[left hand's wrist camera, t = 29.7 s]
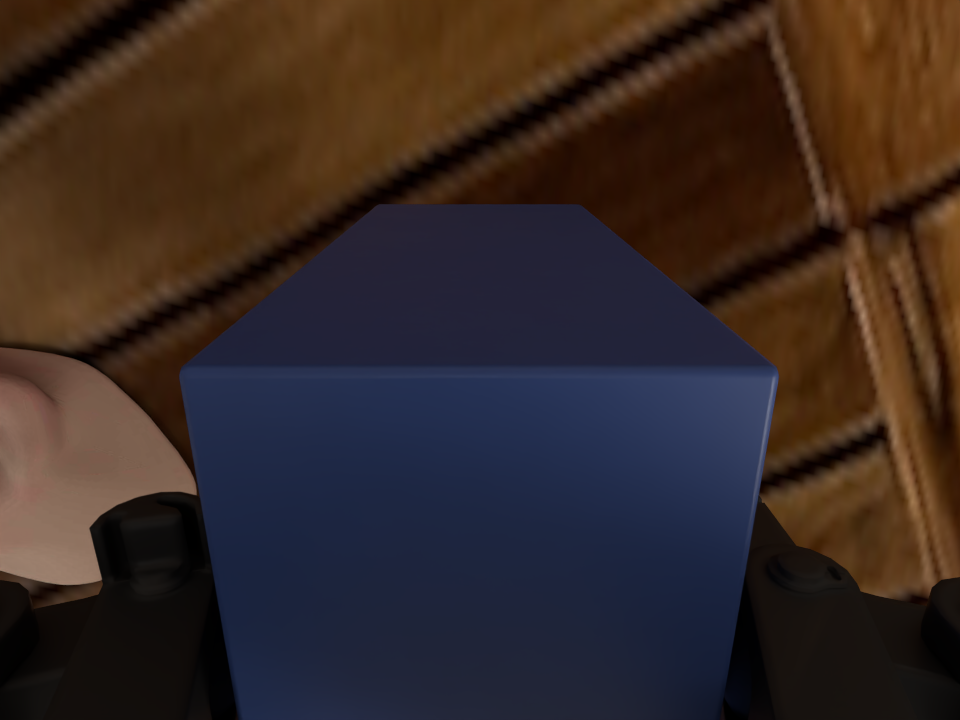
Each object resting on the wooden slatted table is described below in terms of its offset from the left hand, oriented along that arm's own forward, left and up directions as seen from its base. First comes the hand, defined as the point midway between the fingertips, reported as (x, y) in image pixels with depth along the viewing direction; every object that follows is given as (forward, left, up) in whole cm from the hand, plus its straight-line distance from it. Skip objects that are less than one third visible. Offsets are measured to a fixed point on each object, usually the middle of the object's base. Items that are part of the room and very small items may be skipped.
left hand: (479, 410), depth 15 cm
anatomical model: (-19, +3, -10) cm, 22 cm away
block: (0, 0, -2) cm, 2 cm away
